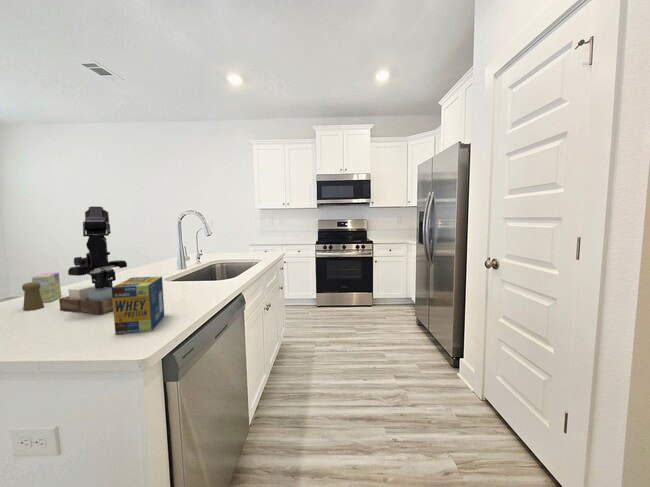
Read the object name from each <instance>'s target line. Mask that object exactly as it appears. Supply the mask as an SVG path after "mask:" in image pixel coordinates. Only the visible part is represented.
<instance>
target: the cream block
mask: <svg viewBox="0 0 650 487" xmlns="http://www.w3.org/2000/svg"><path fill="white" fill-rule="evenodd" d="M94 289H95V285H94V286H93V285H81V286H76V287H73V288H68V296H69V298H71V299H84V298H88V297H89V295H88V291H90V290H94Z"/></svg>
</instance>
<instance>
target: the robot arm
mask: <svg viewBox="0 0 650 487" xmlns="http://www.w3.org/2000/svg"><path fill="white" fill-rule="evenodd" d="M82 233H83V234H82V235H83V236H82V237H84V238H85V237H88V238H87V242H86V243H85V244H86V245H85V246H86V248H87V250H88V252H87V253H86V254H85V257H82V256H78V257H77V256H76V257H74V258H73V264H74V266H71V267H69V269H68V270H67V274H68V275H67V276H75V277H76V276H80V277H81V276H86V275H89V276H90V277H91V284H94V286H95V289H98V288H100V289H102V288H104V287H108V288H112V287H114V286H113V285H114V284H113V282H114V281H116V280H117V279H116V278H117V276H116V271H115V270H114V268H117V267H118V268H119V269H123V268H127V267H128V263H127V261H126V260H122V259H121V260H118V259H116V260H111V261H109V255H111V252H110V251H108V244H107V238H106V236H109V235H111V224H110V217H109V211H107V210H105V209H104V207H103V206H88V209H87V210H85V211H84V221H82ZM109 237H110V236H109Z"/></svg>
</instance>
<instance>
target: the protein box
mask: <svg viewBox="0 0 650 487" xmlns="http://www.w3.org/2000/svg"><path fill="white" fill-rule="evenodd" d="M163 285H164V284H163V276H141V277H139V276H137V277H130V278H128V279H126V280H124V281H122V282H120V283H118V284H116V285H114V286H113V287H112V300H113V311H112V312H113V321H114V335H122V334H125V333H126V334H132V333H133V334H135V333H142V332H143V333H145V332H152V331H153V329H154V328H155V327H156V326H157V325H158V324H159V323H160V322H161V321H162V320H163V318H164V317H165V305H164V304H165V303H164V302H165V300H164V288H163V287H164V286H163ZM157 323H158V324H157Z"/></svg>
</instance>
